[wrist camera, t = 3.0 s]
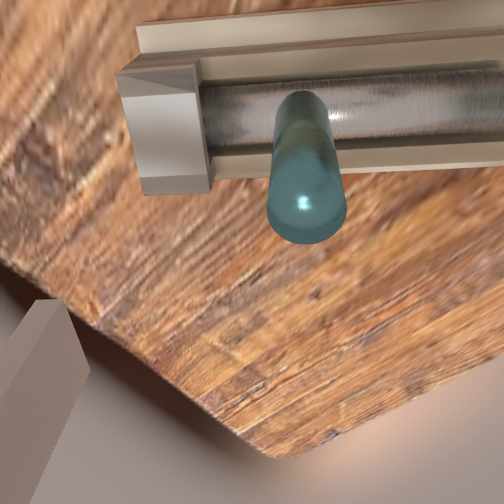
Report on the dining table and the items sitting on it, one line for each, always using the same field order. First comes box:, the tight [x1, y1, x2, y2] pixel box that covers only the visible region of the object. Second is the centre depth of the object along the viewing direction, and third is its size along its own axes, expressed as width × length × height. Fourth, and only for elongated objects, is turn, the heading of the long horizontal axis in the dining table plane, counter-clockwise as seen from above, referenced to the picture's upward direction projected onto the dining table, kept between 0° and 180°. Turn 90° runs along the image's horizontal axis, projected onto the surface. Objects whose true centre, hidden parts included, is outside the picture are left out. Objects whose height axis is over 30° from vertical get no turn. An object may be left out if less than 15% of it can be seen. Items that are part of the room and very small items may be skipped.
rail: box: [116, 0, 504, 196], centre depth 28 cm, size 10×28×6 cm, turn 95°
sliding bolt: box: [198, 67, 504, 244], centre depth 23 cm, size 3×20×14 cm, turn 95°
